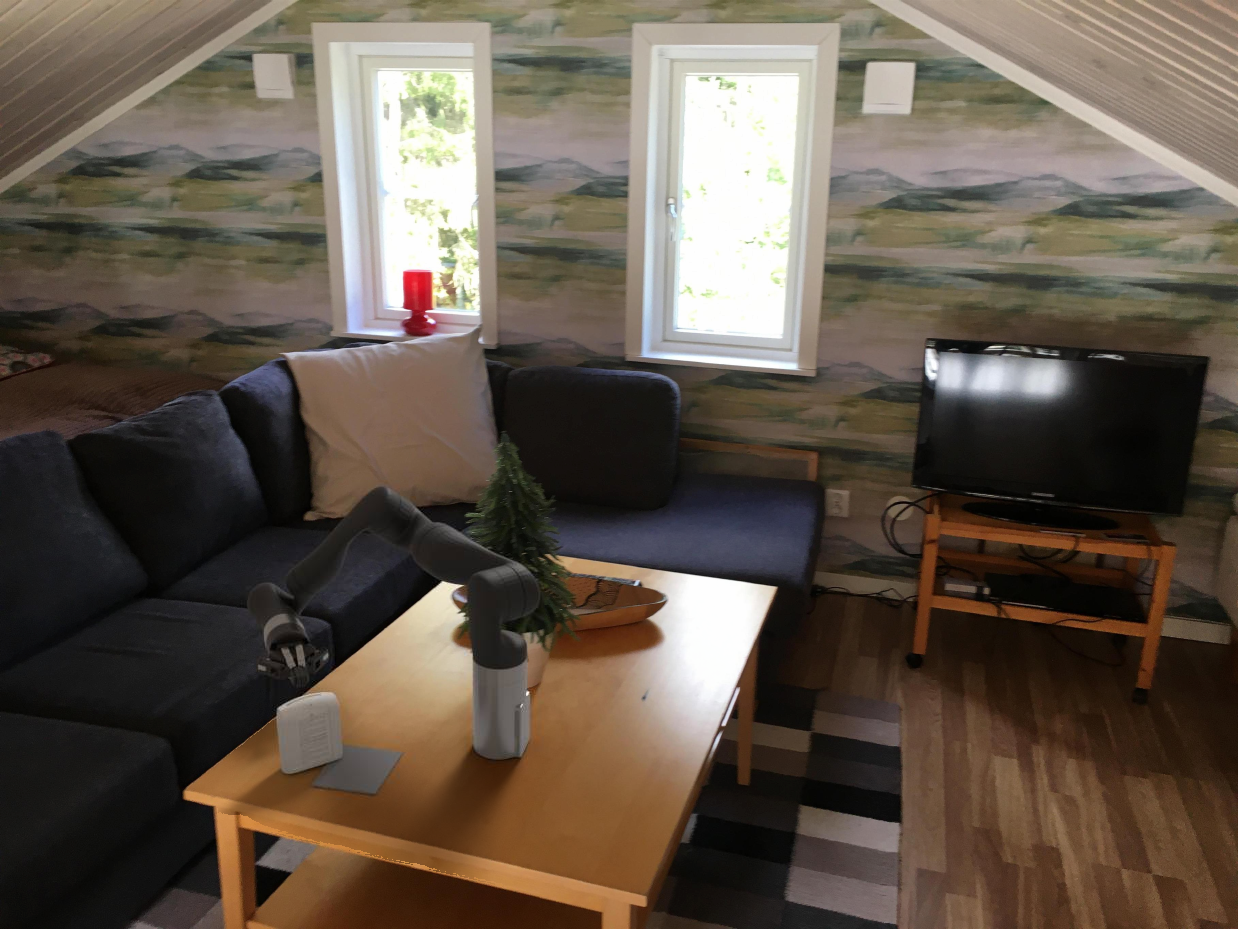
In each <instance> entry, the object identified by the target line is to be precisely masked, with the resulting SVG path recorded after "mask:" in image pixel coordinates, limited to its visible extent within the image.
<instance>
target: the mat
mask: <svg viewBox="0 0 1238 929" xmlns="http://www.w3.org/2000/svg"><path fill="white" fill-rule="evenodd" d="M342 749H343V756H342V758H340V759H338V760H335V761H332V762H329V763H326V764H325V766H324V767H323V769H321V771H320V772H319V774H318V775H317V776H316V777H315V779H314V780H313V781H312V783H311V784H310V787H313V786H316V787H315V788H320V787H326V788H325V789H328V788H330V789H329V790H335V789H337V791H343V792H350V793H360V794H367V795H372V794H373V795H374V796H376V795H377V794H378V792H379V791H380V789H381V788H382V786H383V784H384V783H385V781H386V780H387V779H388V777H389V775H390V774H391V772H392V771H393V769H394V768H395V767H396V765H397V763H398V762H399V760H400V759H401V757H402V755H403V754H404V752H403V751H398V750H388V749H381V748H373V747H366V746H357V745H350V744H343V743H342ZM373 795H372V796H373Z"/></svg>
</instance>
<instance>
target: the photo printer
mask: <svg viewBox="0 0 1238 929" xmlns="http://www.w3.org/2000/svg"><path fill="white" fill-rule="evenodd" d="M340 715H341V714H340V705H339V702H338V698H337V696H336V695H335V694H334V692H329V691H328V692H326V691H325V692H322V691H321V692H314V693H309V694H306V695H305V694H304V695H302V696H298V697H295V698H293V699H291V700H289V701H287V702H285V703H283V704H282V705H280V706H278V707H277V709H276V729H277V738H278V740H277V741H278V748H279V756H280V766H281V768H280V769H281V771H282V772H283V773H284V774H286V775H293V774H295V773H300V772H302V771H306V770H309V769H314V768H315V767H319V766H322V765H327V763H329V762H332V761H335V760H338V759H340V758H342V756H343V749H342V744H343V739H342V738H343V737H342V730H341V728H342V727H341V716H340Z"/></svg>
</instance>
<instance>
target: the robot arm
mask: <svg viewBox="0 0 1238 929" xmlns="http://www.w3.org/2000/svg"><path fill="white" fill-rule="evenodd" d="M365 531H368V532H370V533H371V534H372V535H374V536H376V537H377V538H379V539H380V540H381V541H384V542H385V543H387V544H388V545H389V544H390V545H391V546H394V547H396V548H399V549H401V550H403V551H405V552H408V553H409V554H411V557H412V559H413V560H414V562H415V563H416V564H417V565H418V566H419V567H420V568H421V569H422V570H423V571H424V572H425V571H426V573H428V574H429V575H431V576H432V577H433V578H435V579H437V580H439V581H441V582H444V583H447V584H453V585H458V586H465V587H466V603H467V604H466V605H467V616H468V618H467V619H468V620H467V621H468V633H469V634H468V635H469V636H468V637H469V641H470V645H471V651H472V652H471V653H472V721H473V722H472V723H473V724H472V727H473V730H472V732H473V734H472V740H473V750H474V752H476V753H477V754H478V755H479V756H481V757H483V758H486V759H490V760H506V759H507V760H508V759H511V758H522V757H523V755H524V752H525V750H526V748H527V745H528V744H529V742H530V738H531V736H530V732H531V725H530V724H531V707H530V706H531V691H528V643H527V641H526V639H525V638H524V637H523V636H522V635H521V634H519V633H516V632H514V631H509V630H507V629H502V626H501V624H502V623H505V622H508V621H512V620H515V619H518V618H522V617H524V616H525V617H526V616H528V615H530V614H531V613H533V612H534V611H535V610H536V609H537V608H538V606H539V603H540V600H541V589H540V586H539V584H538V580H536V578H535V576H534V575H533V573H532V572H531V570H529V569H528V568H527V567H526V566H525V565H523V564H522V563H520V562H518V561H515V560H512V559H510V558H507V557H505V556H503V555H500V554H497V553H495V551H491V550H489V549H488V548H487V547H484V546H482V545H480V544H479V543H477V542H475V541H474V540H472V539H471V538H469V537H468V536H466V535H464V534H463V533H462V532H460V531H458V530H457V529H455V528H454V527H452V526H450V525H448V524H446V523H442V522H439V521H438V522H437V521H436V522H433V521H432V520H430V518H428V517H427V516H426V515H424V513H422V512H421V510H419V509H418V508H417V506H416V505H414V504H413V503H412V502H411V501H410V500H408V499H406V498H405V497H403V496H402V495H400V494H399V493H398V492H396V491H395V490H393V489H392V488H390V487H388V486H383V485H382V486H377V487H374V488H373V489H371V490H369V491H368V492H367V493H366V494H365V495H364V496H362V497H361V499H360V500H358V502H357V503H356V504H355V505H354V506H353V507H352V508H351V509H350V511H349V512H347V514H346V515H345V516H344V518H342V519H341V521H340V522H339V523H338V524H337V525H336V527H334V529H333V530H332V531H331V532H330V534H329V535H327V537H326V538H325V539H324V540H323V541H322V542H321V543H320V545H319V546H317V547H316V548H315V549H314V550H313V551H312V552H311V553H310V554H308V555H307V556H306V557H305V558H303V559H302V560H301V561H300V562H299V563H297V564H296V565H295V566H294V567H292V569H290V570H289V571H288V572H287V573H286V575H285V577H284V584H285V586H286V588H287V590H288V591H289V592H290V593H291V594H289V593H288V592H286V591H285V590H284V589H282V588H281V587H279V586H278V585H277V584H275V583H272V582H262V583H259V584H256V586H254V587H253V588H252V590H250V592H249V594H248V597H247V602H246V605H247V609H248V613H249V614H250V615H251V617H252V618H253V620H255V622H256V623H257V624H258V625H259V626H260V627H261V629H262V633H263V641H264V646H265V648H266V651H267V658H264V657H261V658H257V669H258V670H257V672H258V673H259V674H262V675H265V676H268V677H271V678H274V679H277V680H281V681H282V680H285V679H286V678H288V679H290V682H291V684H292V686H296V687H297V688H302V687H306V686H307V684H308V683H309V682H310V681H309V680H310V678H309V676H310V675H315V674H317V672H318V671H320V669H321V668H323V667H324V666H325V665H326V664H327V663H328V662H329V648H328V647H327V646H323V647H321V648H320V649H316V646H314V645H312V644H311V641H310V640H309V636H308V635H307V632H306V629H305V626H304V625H303V623H302V622H301V621H300V619H299V617H300V615H301V614H302V612H303V611H304V609H305V608H306V607H307V605H308V604H309V603H310V602H311V600H312V599H313V598H314V597H315V596H316V595H317V594H318V593H320V592H321V591H322V590H324V589H325V588H326V587H327V586H328V585H330V584H331V583H332V582H333V581H334V580H335V579H337V577H338V575H339V574H340V572H341V571H342V568H343V565H344V563H345V560H346V556H347V552H348V550H349V548H350V545H351V543H352V542H353V541H354V539H355V538H356V537H358V536H359V535H360V534H361V533H363V532H365Z"/></svg>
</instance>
